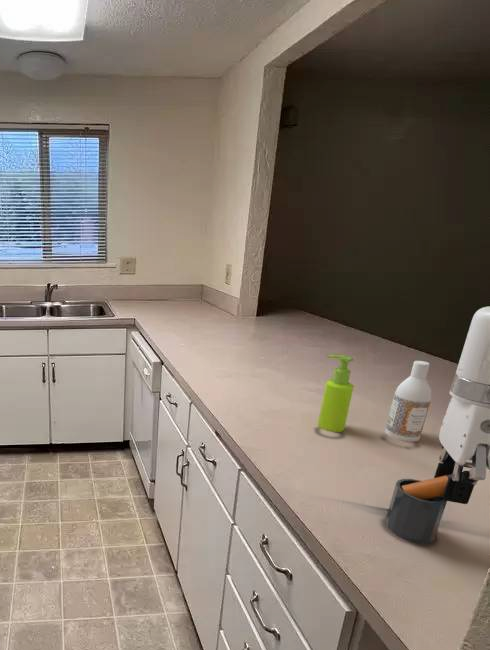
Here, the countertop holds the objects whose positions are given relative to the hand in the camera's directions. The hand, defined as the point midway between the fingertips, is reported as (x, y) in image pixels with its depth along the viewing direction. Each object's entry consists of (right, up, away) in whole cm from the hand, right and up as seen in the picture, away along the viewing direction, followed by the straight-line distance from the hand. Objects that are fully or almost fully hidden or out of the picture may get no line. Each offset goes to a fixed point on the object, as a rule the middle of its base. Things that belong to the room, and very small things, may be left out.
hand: (449, 492), depth 71 cm
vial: (-1, -1, +1) cm, 2 cm away
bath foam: (+17, +4, +35) cm, 39 cm away
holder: (-3, -8, +4) cm, 9 cm away
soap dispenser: (+2, +5, +40) cm, 40 cm away
